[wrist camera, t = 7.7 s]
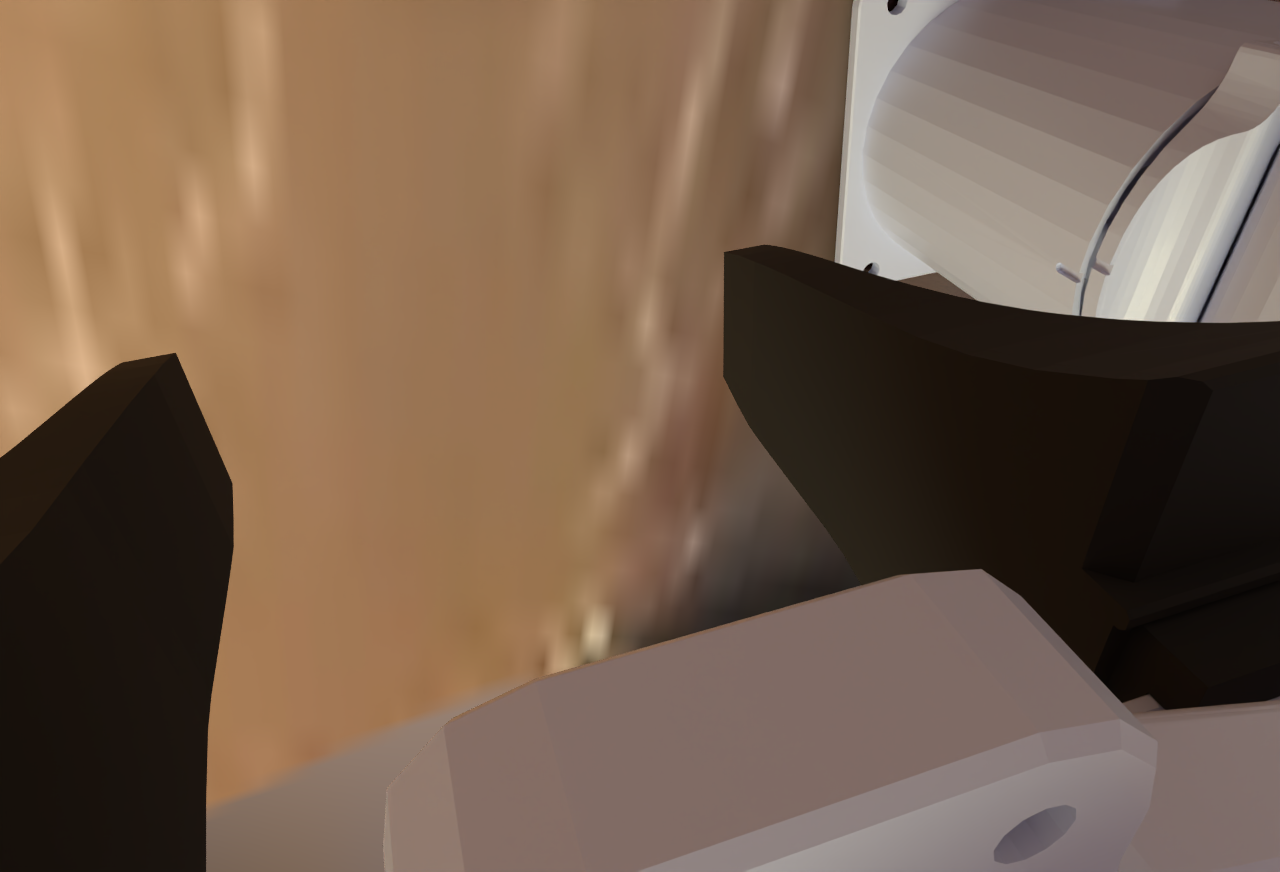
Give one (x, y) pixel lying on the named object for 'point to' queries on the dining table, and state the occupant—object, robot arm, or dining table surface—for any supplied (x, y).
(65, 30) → the dining table surface
